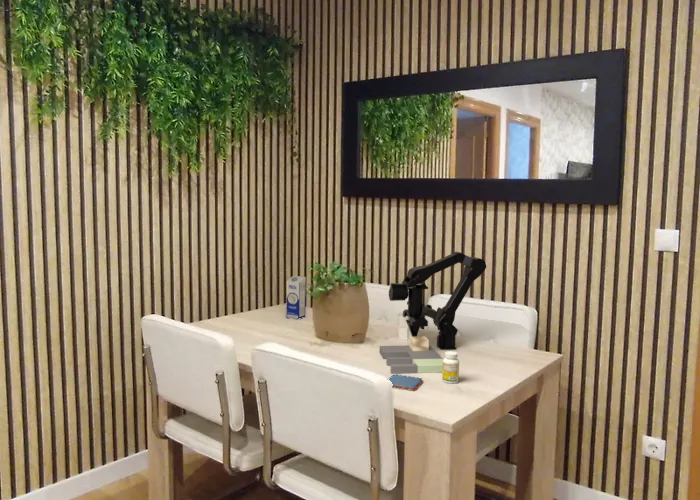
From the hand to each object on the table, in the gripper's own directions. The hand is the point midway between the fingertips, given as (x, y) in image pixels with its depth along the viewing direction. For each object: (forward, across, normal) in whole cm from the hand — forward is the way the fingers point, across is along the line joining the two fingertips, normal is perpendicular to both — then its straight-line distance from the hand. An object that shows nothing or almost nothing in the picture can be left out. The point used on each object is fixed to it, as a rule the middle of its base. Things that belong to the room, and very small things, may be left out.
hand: (414, 339), depth 229 cm
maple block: (+2, -8, 0) cm, 9 cm away
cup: (+4, +17, -1) cm, 18 cm away
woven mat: (+5, -41, +12) cm, 43 cm away
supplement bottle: (+4, -39, -4) cm, 39 cm away
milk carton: (+4, +58, +46) cm, 74 cm away
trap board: (+4, -17, +4) cm, 18 cm away
